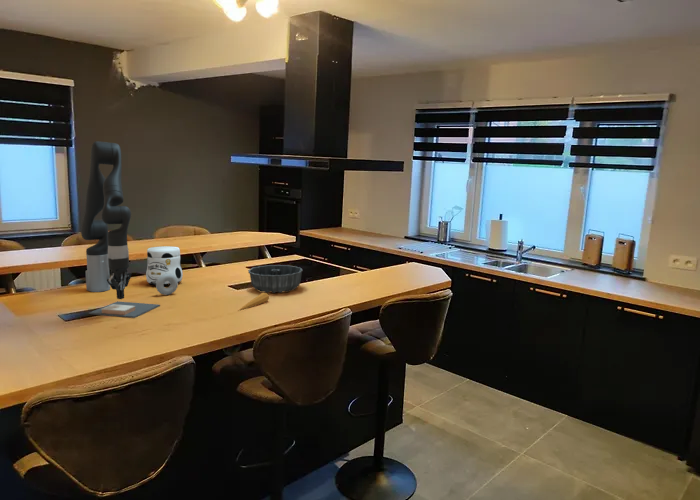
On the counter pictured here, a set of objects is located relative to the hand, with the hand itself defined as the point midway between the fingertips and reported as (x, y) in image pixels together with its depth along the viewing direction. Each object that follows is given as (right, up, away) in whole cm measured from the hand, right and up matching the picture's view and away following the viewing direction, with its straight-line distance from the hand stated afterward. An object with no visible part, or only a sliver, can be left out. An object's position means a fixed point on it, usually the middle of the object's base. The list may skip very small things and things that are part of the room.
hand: (120, 298), depth 203 cm
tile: (0, -4, +2) cm, 4 cm away
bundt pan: (+56, 0, +45) cm, 72 cm away
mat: (0, -5, +4) cm, 6 cm away
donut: (+8, -1, +30) cm, 31 cm away
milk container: (-1, +2, +51) cm, 51 cm away
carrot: (+50, -5, +15) cm, 53 cm away
